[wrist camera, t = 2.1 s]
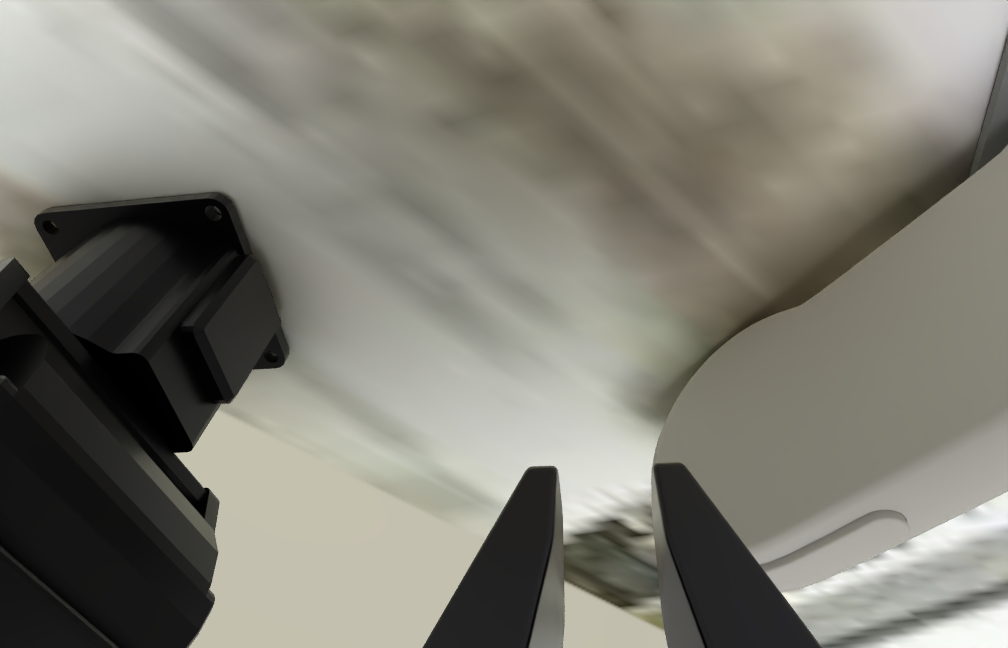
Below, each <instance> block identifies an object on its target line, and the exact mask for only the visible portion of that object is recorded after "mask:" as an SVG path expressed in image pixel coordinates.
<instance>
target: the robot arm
mask: <svg viewBox="0 0 1008 648" xmlns="http://www.w3.org/2000/svg"><path fill="white" fill-rule="evenodd" d="M211 206H215V207H216V208H218V209H219V210H220V212H221V214H222V215H217V214H216V213H214V212H213V211H212V209H211ZM51 221H52V222H54V223H55V224H56V225H57V226H58V228H56V227H55V226H54V225H53V224H52V223H51ZM34 224H35V226H36V229H37V231H38V233H39V234H40V236H41V238H42V240H43V241H44V243H45V245H46V247H47V248H48V250H49V252H50V254H51V255H52V257H53V259H54V261H55V263H54V264H52V265H51V266H50V267H49V268H47V269H46V270H45V271H43V272H42V273H41V274H40V275H38V276H37V277H36V278H35V279H33V280H32V281H31V282H30V283H29V281H28V280H27V279H28V278H29V277H30V275H29V274H28V273H27V272H26V271H25V270H24V268H23V267H22V266H21V265H20V264H19V262H18V261H17V260H16V259H15V258H14V257H11V258H8V259H5V260H2V261H0V648H189V646H190V645H191V644H192V642H193V641H194V640H195V638H196V637H197V635H198V634H199V632H200V630H201V629H202V627H203V624H204V623H205V621H206V619H207V617H208V616H209V614H210V612H211V610H212V607H213V605H214V601H215V597H214V594H213V593H212V592H211V591H210V590H209V588H210V586H211V582H212V577H213V574H214V569H215V565H216V560H217V556H218V550H217V545H216V539H215V527H216V521H217V515H218V509H219V500H218V499H217V498H216V496H215V495H214V494H213V493H212V492H211V490H210V489H209V488H203V487H202V486H201V484H200V483H199V482H198V481H197V480H196V478H195V477H194V476H193V475H192V474H191V473H190V471H189V470H188V469H187V468H186V467H185V466H184V464H183V463H182V462H181V461H180V460H179V458H178V457H177V456H176V455H175V454H174V453H179V452H189V451H191V450H192V449H193V447H194V446H195V444H196V443H197V441H198V440H199V438H200V436H201V435H202V433H203V432H204V430H205V428H206V427H207V425H208V424H209V422H210V420H211V419H212V417H213V416H214V414H215V413H216V411H217V410H218V408H219V406H220V405H221V404H228V403H231V402H232V401H233V399H234V398H235V397H236V395H237V394H238V392H239V390H240V389H241V387H242V386H243V384H244V382H245V381H246V379H247V378H248V376H249V374H250V373H251V371H252V369H270V368H279V367H281V366H282V365H284V363H285V361H286V360H287V358H288V355H289V349H288V347H287V344H286V341H285V339H284V336H283V334H282V331H281V328H280V324H281V319H280V317H279V314H278V311H277V309H276V306H275V303H274V301H273V298H272V295H271V293H270V290H269V287H268V285H267V282H266V279H265V277H264V274H263V272H262V269H261V266H260V264H259V261H258V260H257V259H256V258H255V257H254V256H253V255H252V252H251V250H250V247H249V244H248V242H247V239H246V236H245V234H244V231H243V229H242V226H241V223H240V221H239V218H238V215H237V213H236V210H235V208H234V205H233V204H232V202H231V201H230V200H229V199H228V198H227V197H226V196H224V195H222V194H220V193H205V194H194V195H183V196H172V197H162V198H151V199H140V200H129V201H118V202H107V203H96V204H85V205H75V206H64V207H53V208H48V209H46V210H44V211H43V212H41V213H40V214H38V215H37V216H36V218H35V222H34ZM269 351H271V352H274V353H276V354H277V356H275V355H272V354H271V353H270V352H269ZM652 518H653V529H654V539H655V549H656V559H657V569H658V579H659V589H660V599H661V609H662V616H663V624H664V630H665V635H666V639H667V645H668V648H822V647H821V646H820V644H819V643H818V642H817V640H816V639H815V638H814V636H813V635H812V634H811V632H810V631H809V630H808V628H807V627H806V626H805V624H804V623H803V622H802V620H801V619H800V618H799V616H798V615H797V614H796V612H795V611H794V610H793V608H792V607H791V606H790V604H789V603H788V602H787V600H786V599H785V598H784V596H783V595H782V594H781V592H780V591H779V590H778V588H777V587H776V586H775V584H774V583H773V582H772V580H771V579H770V578H769V576H768V575H767V574H766V572H765V571H764V570H763V568H762V567H761V566H760V564H759V563H758V562H757V560H756V559H755V558H754V556H753V555H752V554H751V552H750V551H749V550H748V548H747V547H746V546H745V544H744V543H743V542H742V540H741V539H740V538H739V536H738V535H737V534H736V532H735V531H734V530H733V528H732V527H731V526H730V524H729V523H728V522H727V520H726V519H725V518H724V516H723V515H722V514H721V512H720V511H719V510H718V509H717V507H716V506H715V505H714V503H713V502H712V501H711V499H710V498H709V497H708V495H707V494H706V493H705V491H704V490H703V489H702V487H701V486H700V485H699V483H698V482H697V481H696V479H695V478H694V477H693V475H692V474H691V473H690V471H689V470H688V469H687V467H686V466H685V465H684V464H682V463H680V462H667V463H655V464H654V465H653V466H652ZM564 609H565V606H564V556H563V514H562V502H561V493H560V484H559V475H558V470H557V468H556V467H554V466H533V467H529V468H528V469H527V470H526V471H525V473H524V474H523V476H522V478H521V479H520V481H519V483H518V485H517V486H516V488H515V490H514V492H513V493H512V495H511V497H510V498H509V500H508V502H507V504H506V505H505V507H504V509H503V510H502V512H501V514H500V516H499V517H498V519H497V521H496V522H495V524H494V526H493V528H492V529H491V531H490V533H489V534H488V536H487V538H486V540H485V541H484V543H483V545H482V547H481V548H480V550H479V552H478V553H477V555H476V557H475V559H474V560H473V562H472V564H471V566H470V567H469V569H468V571H467V572H466V574H465V576H464V577H463V579H462V581H461V583H460V585H459V586H458V588H457V589H456V591H455V593H454V595H453V596H452V598H451V600H450V602H449V603H448V605H447V607H446V608H445V610H444V612H443V614H442V615H441V617H440V619H439V620H438V622H437V624H436V626H435V627H434V629H433V631H432V632H431V635H430V636H429V638H428V639H427V641H426V643H425V645H424V646H423V648H563V637H564V636H563V635H564V612H565V610H564Z"/></svg>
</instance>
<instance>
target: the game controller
mask: <svg viewBox="0 0 1008 648" xmlns="http://www.w3.org/2000/svg"><path fill="white" fill-rule="evenodd" d="M667 462H680V463H682V464H684V465H685V466H686V467H687V469H688V470H689V471H690V473H691V474H692V475H693V477H694V478H695V479H696V481H697V482H698V483H699V485H700V486H701V487H702V489H703V490H704V491H705V493H706V494H707V495H708V497H709V498H710V499H711V501H712V502H713V503H714V505H715V506H716V507H717V509H718V510H719V511H720V512H721V514H722V515H723V516H724V518H725V519H726V520H727V522H728V523H729V524H730V526H731V527H732V528H733V530H734V531H735V532H736V534H737V535H738V536H739V538H740V539H741V540H742V542H743V543H744V544H745V546H746V547H747V548H748V550H749V551H750V552H751V554H752V555H753V556H754V558H755V559H756V560H757V562H758V563H759V564H760V566H761V567H762V568H763V570H764V571H765V572H766V574H767V575H768V576H769V578H770V579H771V580H772V582H773V583H774V584H775V586H776V587H777V588H778V590H779V591H780V592H787V591H791V590H796V589H800V588H803V587H806V586H809V585H812V584H814V583H817V582H820V581H823V580H825V579H828V578H830V577H832V576H834V575H836V574H838V573H841V572H843V571H845V570H847V569H849V568H851V567H854V566H856V565H858V564H860V563H862V562H865V561H867V560H869V559H871V558H873V557H875V556H877V555H879V554H881V553H883V552H885V551H887V550H889V549H891V548H893V547H895V546H897V545H899V544H902V543H904V542H906V541H908V540H910V539H912V538H914V537H916V536H918V535H920V534H922V533H924V532H926V531H928V530H930V529H932V528H934V527H936V526H939V525H941V524H943V523H945V522H947V521H949V520H951V519H953V518H955V517H957V516H959V515H961V514H963V513H965V512H967V511H969V510H971V509H973V508H975V507H977V506H979V505H981V504H983V503H985V502H987V501H989V500H991V499H993V498H995V497H997V496H999V495H1002V494H1004V493H1006V492H1008V144H1007V146H1006V147H1005V148H1004V149H1003V150H1002V152H1001V153H1000V154H998V155H997V156H996V157H995V158H993V159H992V160H991V161H990V162H988V163H987V164H986V165H985V166H984V167H982V168H981V169H980V170H978V171H977V172H976V173H975V174H973V175H972V176H971V177H969V178H968V179H967V180H965V181H964V182H963V183H962V184H960V185H959V186H958V187H956V188H955V189H954V190H953V191H951V192H950V193H949V194H947V195H946V196H945V197H944V198H942V199H941V200H940V201H938V202H937V203H936V204H934V205H933V206H932V207H931V208H929V209H928V210H927V211H925V212H924V213H923V214H921V215H920V216H919V217H917V218H916V219H915V220H914V221H912V222H911V223H910V224H908V225H907V226H906V227H904V228H903V229H902V230H901V231H899V232H898V233H897V234H895V235H894V236H893V237H891V238H890V239H889V240H887V241H886V242H885V243H884V244H882V245H881V246H880V247H878V248H877V249H876V250H874V251H873V252H872V253H870V254H869V255H868V256H866V257H865V258H864V259H863V260H861V261H860V262H859V263H857V264H856V265H855V266H853V267H852V268H851V269H849V270H848V271H847V272H845V273H844V274H843V275H841V276H840V277H839V278H837V279H836V280H835V281H834V282H832V283H831V284H830V285H828V286H827V287H826V288H824V289H823V290H822V291H820V292H819V293H818V294H816V295H815V296H813V297H812V298H811V299H809V300H808V301H806V302H805V303H804V304H802V305H800V306H797V307H794V308H791V309H788V310H785V311H782V312H779V313H776V314H774V315H771V316H769V317H767V318H764V319H762V320H760V321H758V322H756V323H754V324H753V325H751V326H749V327H747V328H746V329H744V330H743V331H741V332H739V333H738V334H736V335H735V336H734V337H732V338H731V339H730V340H728V341H727V342H726V343H725V344H724V345H722V346H721V347H720V348H719V349H718V350H717V351H716V352H714V353H713V354H712V355H711V356H710V357H709V358H708V359H707V360H706V361H705V362H704V363H703V365H702V366H701V367H700V368H699V369H698V370H697V371H696V373H695V374H694V375H693V376H692V378H691V379H690V380H689V382H688V383H687V384H686V386H685V387H684V389H683V390H682V392H681V393H680V395H679V396H678V398H677V400H676V401H675V403H674V405H673V407H672V408H671V410H670V412H669V414H668V416H667V419H666V421H665V423H664V426H663V428H662V430H661V433H660V436H659V439H658V442H657V446H656V450H655V454H654V459H653V465H654V464H655V463H667ZM651 485H652V479H651Z"/></svg>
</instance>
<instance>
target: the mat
mask: <svg viewBox="0 0 1008 648" xmlns="http://www.w3.org/2000/svg"><path fill="white" fill-rule="evenodd" d="M1007 144H1008V38H1007V41H1006V45H1005V49H1004V52H1003V56H1002V59H1001V63H1000V67H999V70H998V74H997V77H996V81H995V84H994V88H993V92H992V95H991V99H990V102H989V106H988V110H987V113H986V117H985V120H984V124H983V127H982V131H981V135H980V138H979V142H978V145H977V149H976V153H975V156H974V160H973V163H972V167H971V170H970V174H969V177H971V176H972V175H973V174H975V173H976V172H977V171H978V170H980V169H981V168H982V167H984V166H985V165H986V164H987V163H988V162H990V161H991V160H992V159H993V158H995V157H996V156H997V155H998V154H1000V153H1001V152H1002V150H1003V149H1004V148H1005V147H1006V146H1007Z"/></svg>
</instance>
